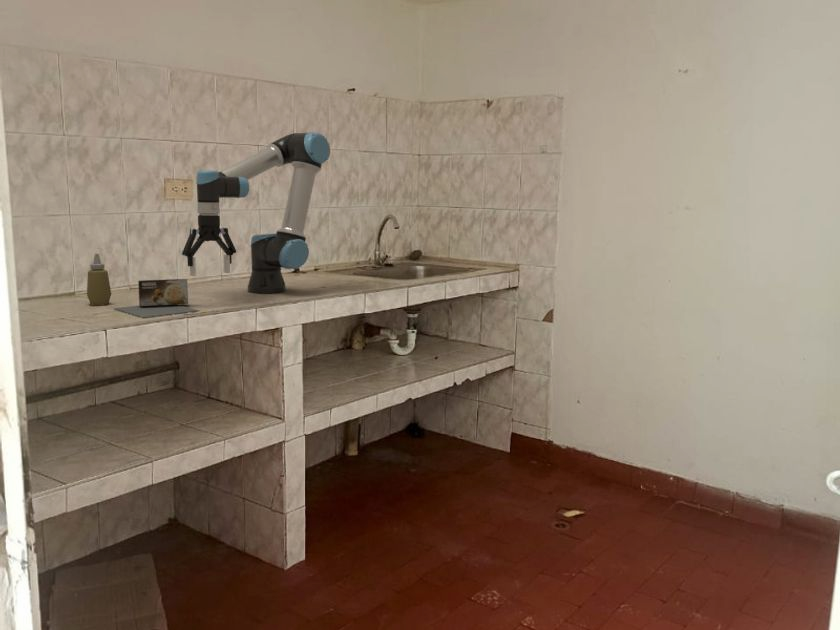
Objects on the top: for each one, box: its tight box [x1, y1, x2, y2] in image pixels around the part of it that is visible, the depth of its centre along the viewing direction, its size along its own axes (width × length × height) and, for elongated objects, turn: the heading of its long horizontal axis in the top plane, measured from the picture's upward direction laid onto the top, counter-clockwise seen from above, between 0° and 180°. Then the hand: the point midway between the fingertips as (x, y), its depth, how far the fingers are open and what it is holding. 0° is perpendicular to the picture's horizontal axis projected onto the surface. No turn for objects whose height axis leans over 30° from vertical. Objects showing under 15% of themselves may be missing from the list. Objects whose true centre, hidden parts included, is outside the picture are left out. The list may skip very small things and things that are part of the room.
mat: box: [113, 304, 201, 319], centre depth 255 cm, size 20×22×1 cm
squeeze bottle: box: [86, 253, 112, 306], centre depth 263 cm, size 8×8×18 cm
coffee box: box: [137, 278, 189, 306], centre depth 261 cm, size 9×6×16 cm
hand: (210, 274), depth 267 cm, fingers open, 13 cm apart
